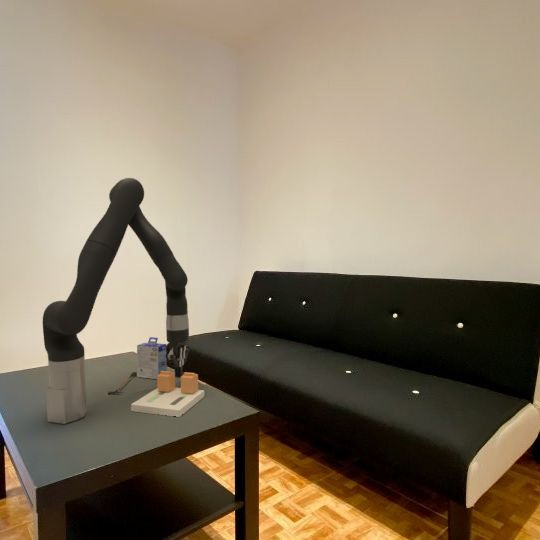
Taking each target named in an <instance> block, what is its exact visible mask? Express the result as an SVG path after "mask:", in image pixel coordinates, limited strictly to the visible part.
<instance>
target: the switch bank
mask: <svg viewBox="0 0 540 540" xmlns="http://www.w3.org/2000/svg"><path fill="white" fill-rule="evenodd" d="M204 397H205V390H203V389H202V390H201V389H198V390H197V391H195V392H194V393H193V394H189V393H181V387H176V386H175V388H174V389H173V390H171V391H170V392H163V391H158V387H157V388H155V389H154V390H152V391H150V392H149V393H147V394H145V395H144V396H142V397H141V398H139V399H137V400H136V401H135V402H132V403H131V404H130V411H131V412H136V413H137V412H138V413H145V414H150V415H151V414H153V415H158V414H159V415H158V416H165V415H167V416H166V417H173V416H176V417H175V418H181V417H182V416H183V415H184V414H186V412H187V411H189V410H190V409H191V408H192V407H194V406H195V405H196V404H197V403H198V402H200V401H201V400H202V399H203V398H204ZM182 414H183V415H182Z"/></svg>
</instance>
